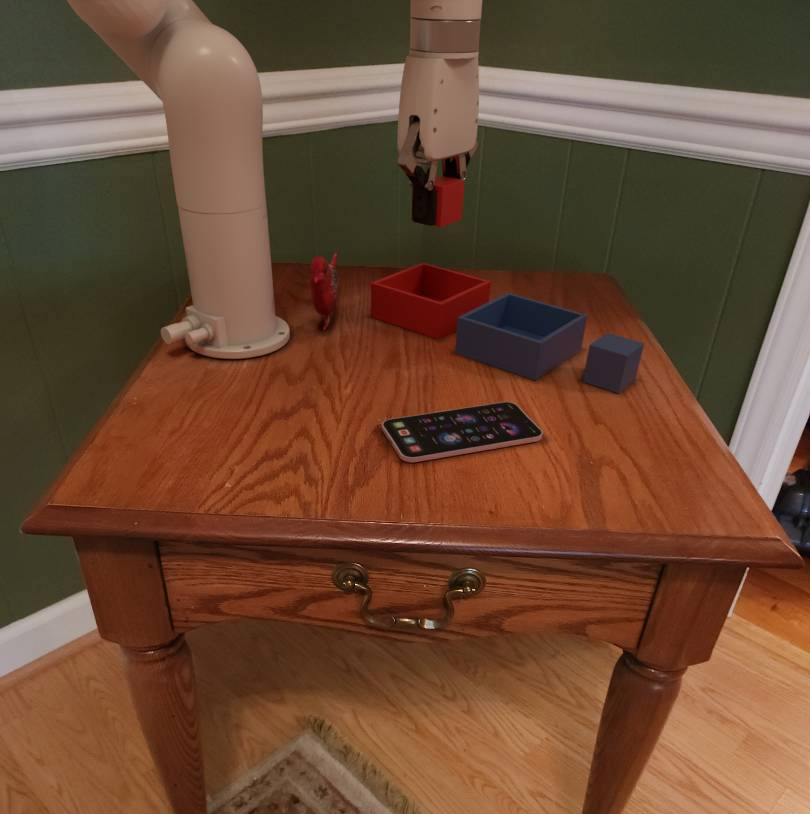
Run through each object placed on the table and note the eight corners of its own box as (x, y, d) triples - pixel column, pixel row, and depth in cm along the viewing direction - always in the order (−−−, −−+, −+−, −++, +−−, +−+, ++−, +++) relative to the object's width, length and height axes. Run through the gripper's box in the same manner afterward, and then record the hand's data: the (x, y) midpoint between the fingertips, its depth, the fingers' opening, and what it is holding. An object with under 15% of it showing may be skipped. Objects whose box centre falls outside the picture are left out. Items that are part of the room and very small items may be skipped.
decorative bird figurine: (306, 346, 88) (301, 262, 82) (327, 295, 102) (325, 219, 96) (330, 348, 88) (327, 264, 82) (348, 296, 102) (346, 220, 96)
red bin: (439, 339, 91) (441, 304, 88) (370, 316, 96) (370, 282, 93) (487, 314, 98) (491, 281, 95) (421, 294, 103) (422, 262, 100)
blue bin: (535, 381, 83) (541, 343, 80) (454, 353, 88) (457, 317, 85) (581, 350, 90) (587, 314, 87) (503, 326, 95) (507, 292, 92)
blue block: (618, 394, 81) (627, 355, 78) (582, 381, 83) (589, 344, 80) (635, 380, 83) (644, 343, 81) (599, 369, 86) (607, 332, 83)
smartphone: (378, 420, 73) (512, 400, 77) (378, 425, 73) (512, 405, 77) (404, 459, 67) (547, 435, 72) (404, 464, 68) (546, 440, 72)
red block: (440, 227, 87) (442, 186, 84) (411, 220, 89) (412, 180, 86) (462, 219, 90) (464, 180, 87) (432, 213, 92) (434, 174, 89)
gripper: (460, 33, 85) (451, 200, 97) (367, 41, 75) (369, 227, 86) (515, 38, 82) (499, 211, 93) (425, 46, 71) (419, 240, 82)
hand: (436, 217), depth 89 cm, fingers closed on red block, 4 cm apart
